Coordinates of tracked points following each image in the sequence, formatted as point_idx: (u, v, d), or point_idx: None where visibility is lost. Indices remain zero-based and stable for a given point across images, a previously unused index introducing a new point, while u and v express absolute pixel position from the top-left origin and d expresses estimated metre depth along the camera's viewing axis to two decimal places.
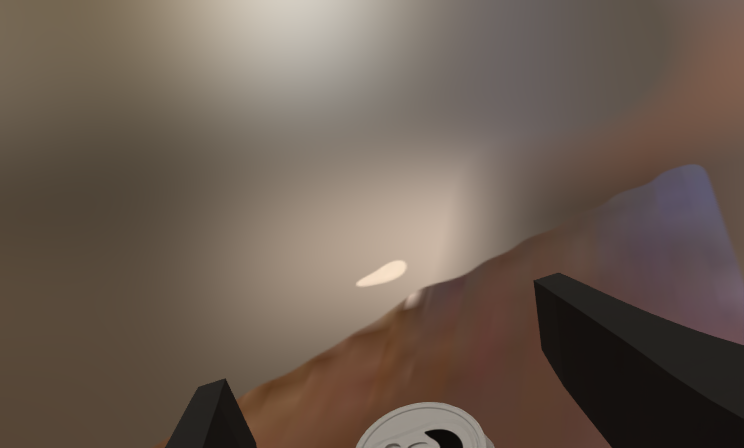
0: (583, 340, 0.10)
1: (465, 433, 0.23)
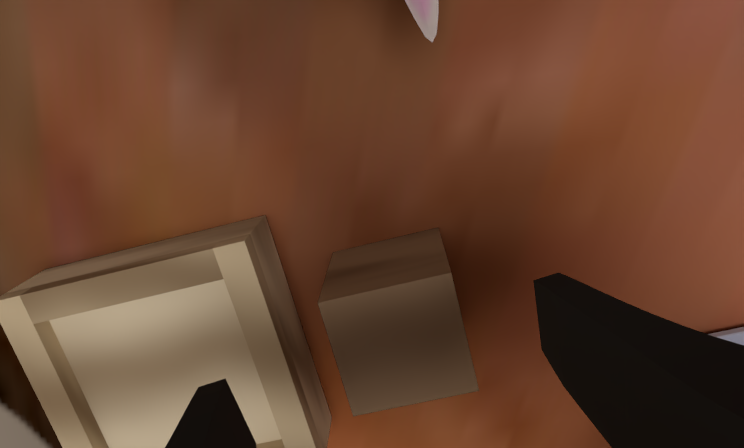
0: (583, 340, 0.10)
1: None
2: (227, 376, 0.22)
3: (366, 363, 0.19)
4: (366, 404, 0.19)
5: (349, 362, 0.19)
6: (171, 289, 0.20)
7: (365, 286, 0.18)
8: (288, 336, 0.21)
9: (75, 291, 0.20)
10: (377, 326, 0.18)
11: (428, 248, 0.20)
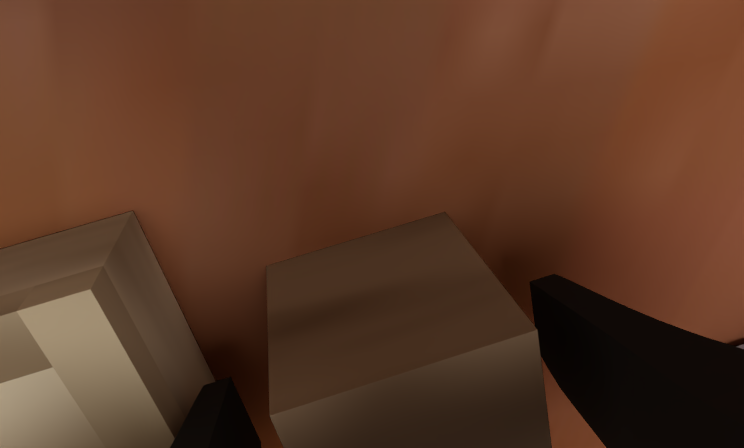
0: (578, 342, 0.10)
1: None
2: None
3: None
4: None
5: None
6: None
7: (363, 365, 0.09)
8: None
9: None
10: (392, 438, 0.09)
11: (450, 260, 0.11)
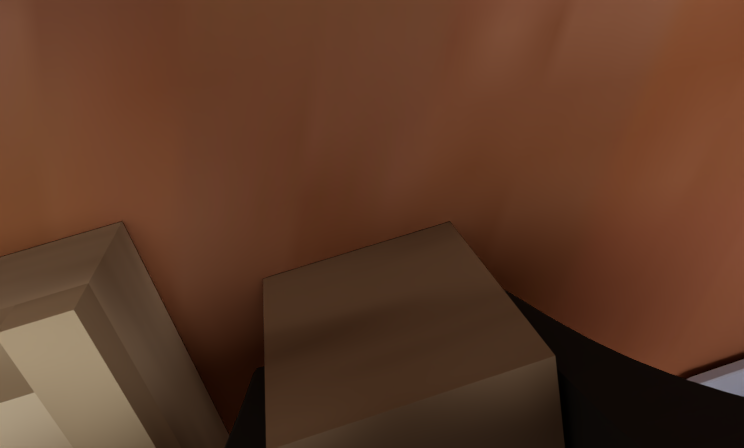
0: None
1: None
2: None
3: None
4: None
5: None
6: None
7: (368, 394, 0.08)
8: None
9: None
10: None
11: (459, 275, 0.11)
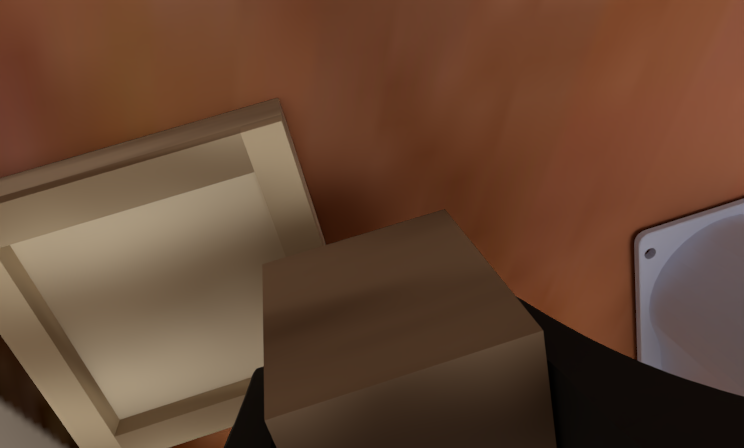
0: None
1: None
2: (251, 292, 0.18)
3: None
4: None
5: None
6: (186, 189, 0.16)
7: (362, 368, 0.09)
8: (322, 239, 0.18)
9: (52, 201, 0.15)
10: (392, 444, 0.09)
11: (452, 258, 0.11)
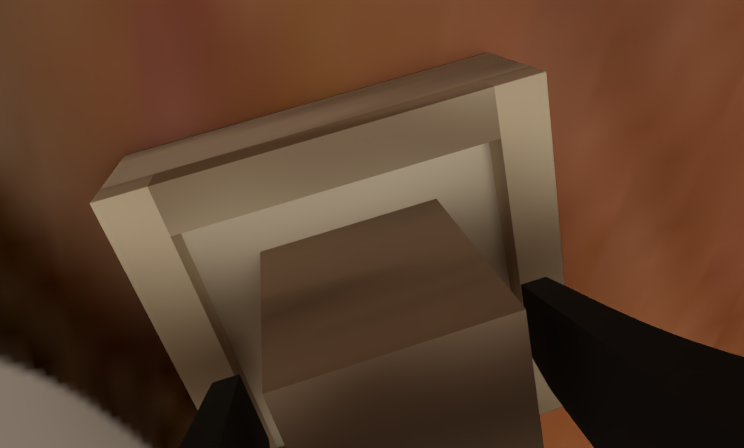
0: (568, 345, 0.10)
1: None
2: None
3: None
4: None
5: None
6: (416, 160, 0.12)
7: (354, 345, 0.09)
8: None
9: (252, 173, 0.11)
10: (383, 417, 0.09)
11: (442, 244, 0.11)
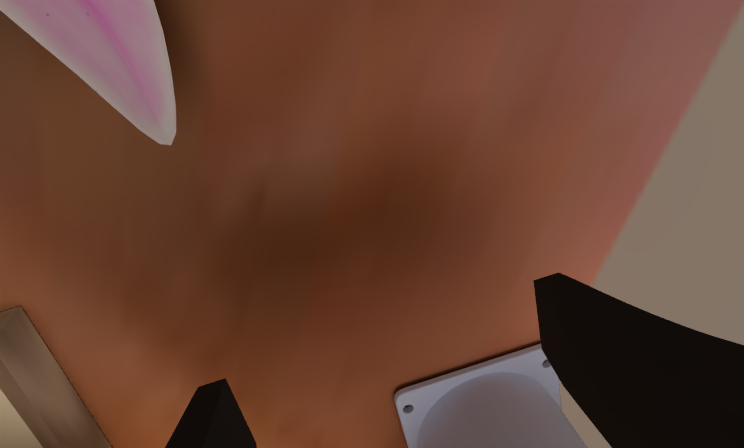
0: (583, 340, 0.10)
1: None
2: None
3: None
4: None
5: None
6: None
7: None
8: (60, 431, 0.20)
9: None
10: None
11: None
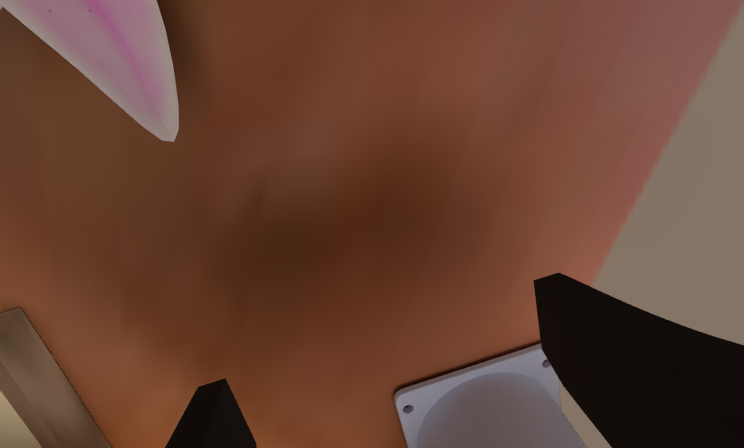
0: (583, 340, 0.10)
1: None
2: None
3: None
4: None
5: None
6: None
7: None
8: (60, 432, 0.20)
9: None
10: None
11: None
